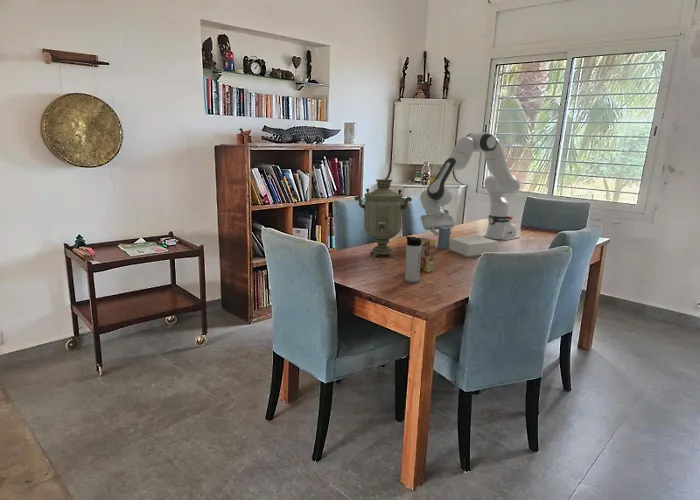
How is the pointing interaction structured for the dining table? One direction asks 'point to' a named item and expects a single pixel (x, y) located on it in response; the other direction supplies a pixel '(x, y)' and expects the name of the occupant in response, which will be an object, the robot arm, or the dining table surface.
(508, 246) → the dining table surface
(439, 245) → the grey tall block
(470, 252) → the riser
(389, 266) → the dining table surface
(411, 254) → the travel mug
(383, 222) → the samovar
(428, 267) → the candy box
